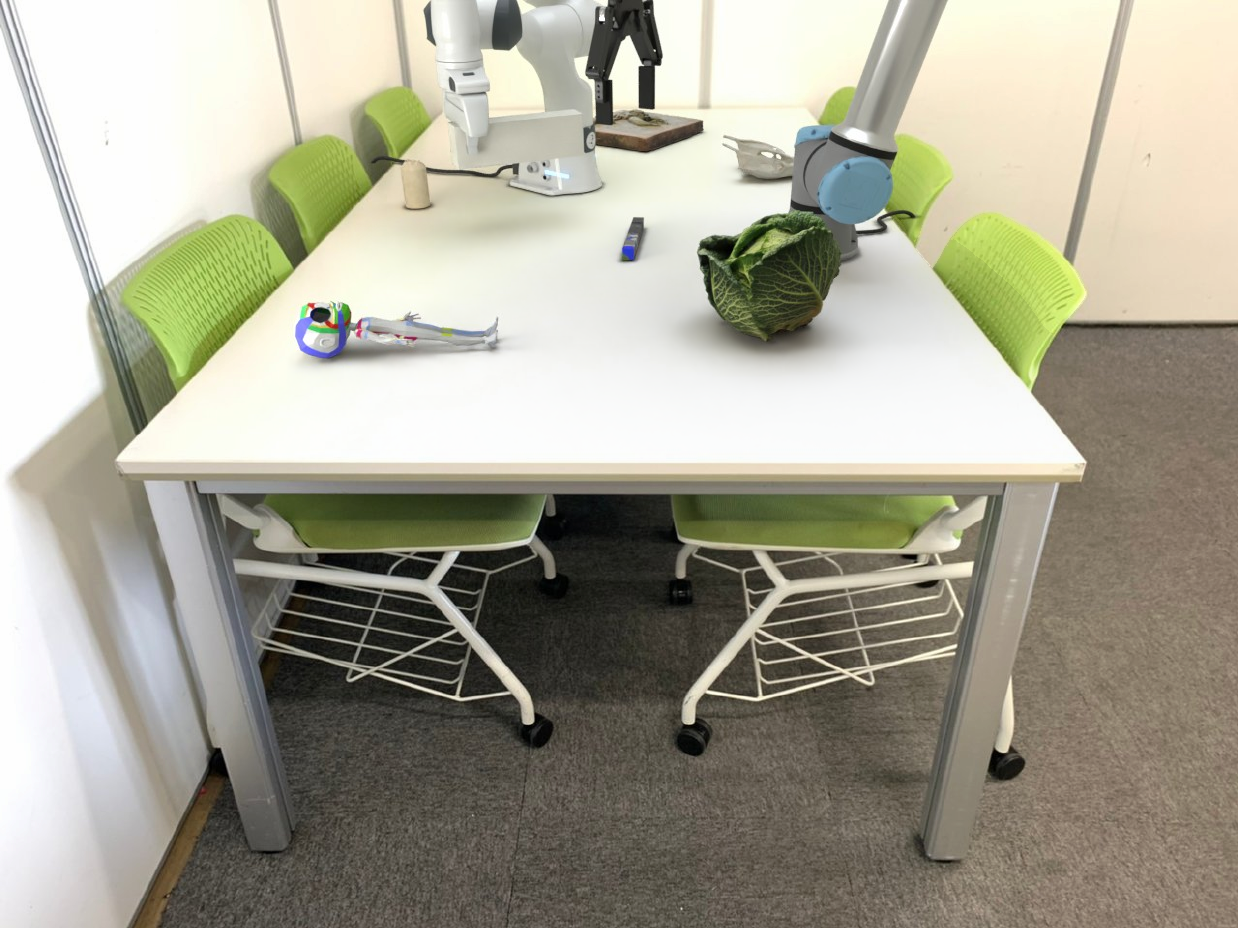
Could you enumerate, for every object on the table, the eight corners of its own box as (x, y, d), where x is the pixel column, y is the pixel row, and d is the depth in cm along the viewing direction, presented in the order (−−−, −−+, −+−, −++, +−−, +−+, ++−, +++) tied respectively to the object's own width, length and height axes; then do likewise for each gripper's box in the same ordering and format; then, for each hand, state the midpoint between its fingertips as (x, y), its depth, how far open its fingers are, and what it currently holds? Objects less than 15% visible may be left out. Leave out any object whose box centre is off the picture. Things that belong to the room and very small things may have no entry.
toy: (498, 328, 132) (286, 311, 128) (494, 379, 137) (289, 364, 132) (499, 302, 141) (300, 285, 136) (495, 351, 145) (303, 336, 140)
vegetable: (729, 354, 150) (671, 251, 142) (822, 290, 151) (770, 184, 144) (780, 378, 132) (718, 261, 124) (885, 305, 133) (830, 185, 125)
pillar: (643, 217, 185) (633, 249, 169) (643, 227, 186) (633, 260, 170) (633, 217, 186) (621, 249, 169) (633, 227, 187) (622, 260, 170)
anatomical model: (724, 131, 223) (826, 130, 219) (723, 169, 228) (823, 168, 224) (720, 146, 210) (828, 145, 207) (720, 185, 215) (825, 185, 212)
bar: (458, 170, 175) (453, 127, 171) (452, 164, 179) (447, 122, 175) (584, 155, 184) (582, 113, 180) (575, 150, 188) (574, 109, 184)
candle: (435, 203, 204) (429, 158, 199) (422, 209, 200) (416, 164, 194) (413, 201, 206) (407, 156, 200) (401, 207, 201) (394, 162, 196)
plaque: (647, 125, 237) (559, 112, 252) (647, 153, 241) (560, 139, 256) (706, 107, 258) (622, 97, 273) (705, 133, 262) (622, 121, 277)
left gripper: (431, 68, 176) (439, 141, 184) (458, 86, 160) (466, 165, 168) (462, 66, 178) (469, 138, 186) (492, 83, 163) (498, 161, 170)
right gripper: (602, -27, 123) (606, 134, 134) (685, -38, 141) (682, 104, 152) (557, -29, 126) (564, 129, 138) (643, -39, 144) (643, 101, 156)
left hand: (468, 151), depth 177 cm, fingers closed on bar, 5 cm apart
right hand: (626, 116), depth 145 cm, fingers open, 13 cm apart
